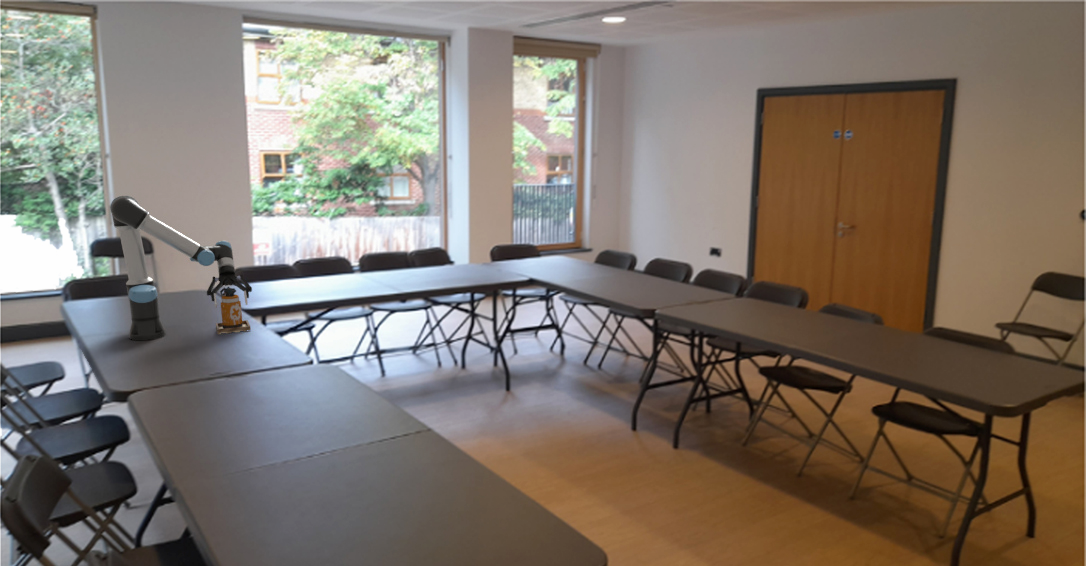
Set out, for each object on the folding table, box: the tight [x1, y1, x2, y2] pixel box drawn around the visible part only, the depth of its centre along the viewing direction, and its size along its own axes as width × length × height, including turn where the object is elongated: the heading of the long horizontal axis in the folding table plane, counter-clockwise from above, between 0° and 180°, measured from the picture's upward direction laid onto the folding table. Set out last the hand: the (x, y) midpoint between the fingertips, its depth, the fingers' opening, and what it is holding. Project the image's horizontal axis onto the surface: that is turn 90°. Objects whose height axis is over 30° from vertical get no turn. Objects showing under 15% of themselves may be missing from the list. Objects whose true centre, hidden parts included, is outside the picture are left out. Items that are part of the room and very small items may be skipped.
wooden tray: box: [215, 319, 251, 335], centre depth 369 cm, size 15×14×2 cm
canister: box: [219, 286, 243, 328], centre depth 367 cm, size 9×11×20 cm
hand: (231, 304), depth 365 cm, fingers open, 13 cm apart
